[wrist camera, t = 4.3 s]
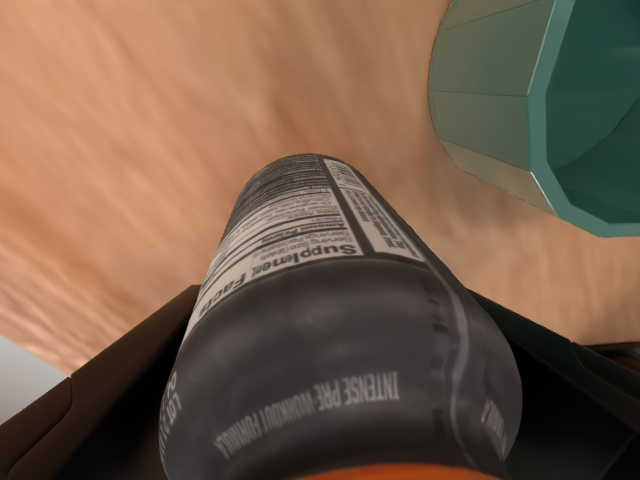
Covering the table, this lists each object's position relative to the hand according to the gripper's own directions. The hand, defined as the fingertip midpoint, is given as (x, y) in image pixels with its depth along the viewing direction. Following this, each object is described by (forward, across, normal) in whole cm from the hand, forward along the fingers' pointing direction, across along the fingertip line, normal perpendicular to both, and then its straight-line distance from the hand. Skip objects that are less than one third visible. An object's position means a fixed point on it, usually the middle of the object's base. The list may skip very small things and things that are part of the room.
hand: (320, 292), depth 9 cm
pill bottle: (+5, 0, 0) cm, 5 cm away
